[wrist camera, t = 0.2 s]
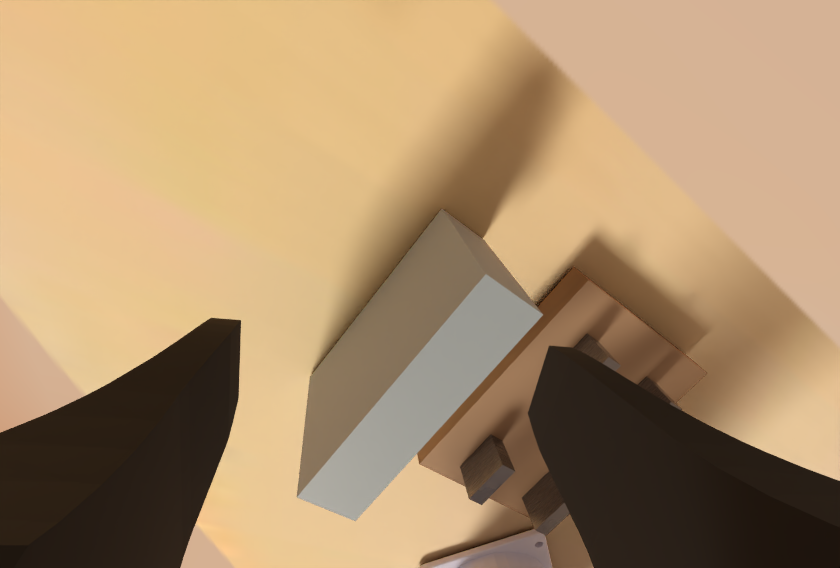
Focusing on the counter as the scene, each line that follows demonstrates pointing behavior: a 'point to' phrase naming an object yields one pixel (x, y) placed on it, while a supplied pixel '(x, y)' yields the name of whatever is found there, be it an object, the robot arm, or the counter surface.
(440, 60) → the counter surface
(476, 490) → the short dark cabinet legs
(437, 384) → the grey rectangular block
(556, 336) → the cabinet base
